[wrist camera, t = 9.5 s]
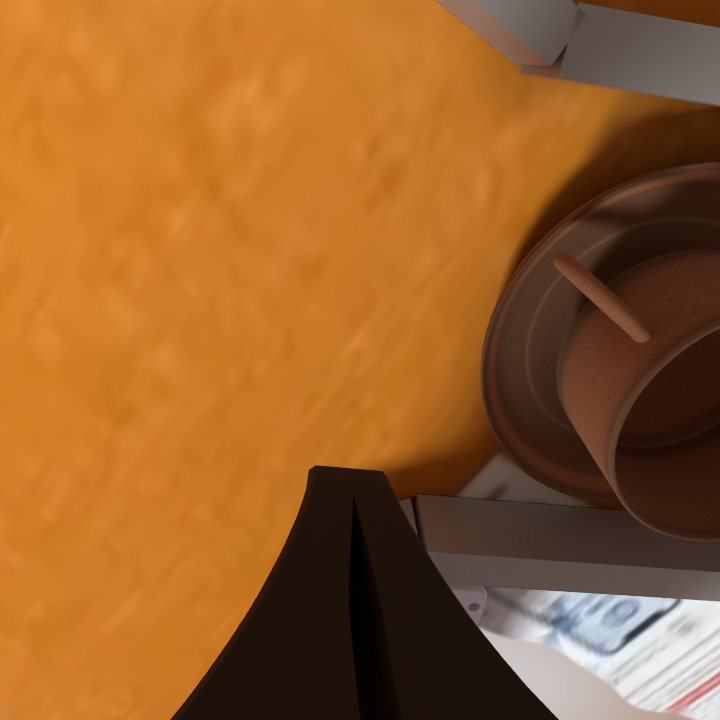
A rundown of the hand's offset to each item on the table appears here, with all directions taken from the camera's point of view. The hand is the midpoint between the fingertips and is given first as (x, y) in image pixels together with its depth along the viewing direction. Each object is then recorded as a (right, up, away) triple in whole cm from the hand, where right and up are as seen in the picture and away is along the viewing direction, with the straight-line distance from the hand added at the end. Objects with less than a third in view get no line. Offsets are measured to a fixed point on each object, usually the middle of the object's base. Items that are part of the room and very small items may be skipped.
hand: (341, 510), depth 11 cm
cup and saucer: (+10, +4, +10) cm, 14 cm away
